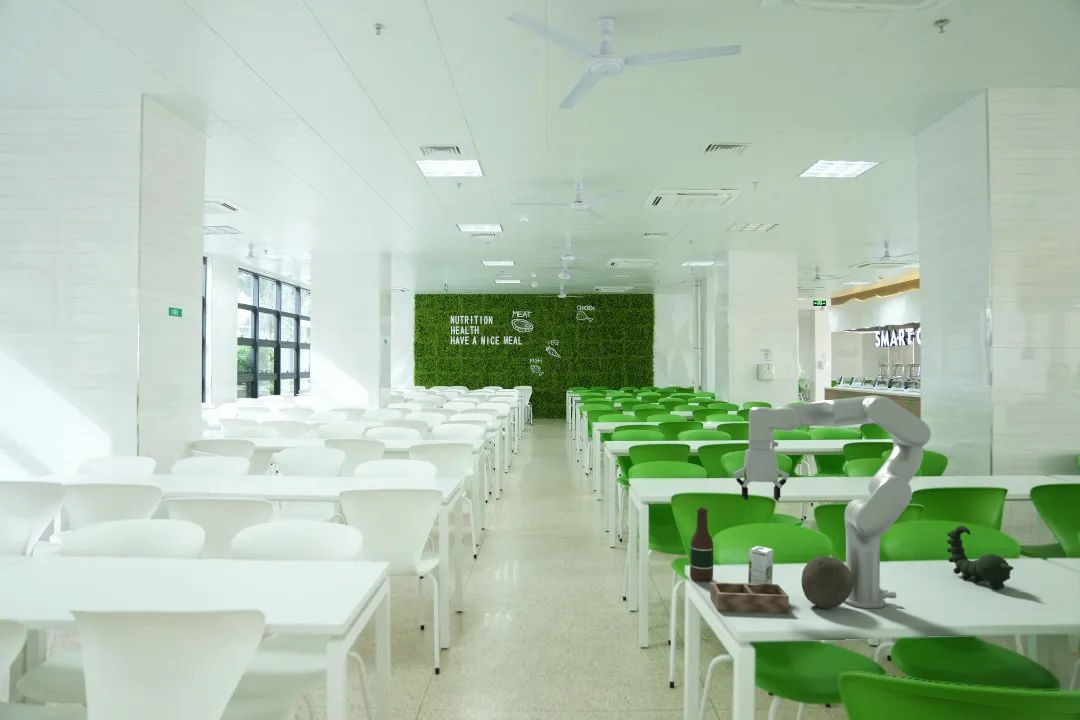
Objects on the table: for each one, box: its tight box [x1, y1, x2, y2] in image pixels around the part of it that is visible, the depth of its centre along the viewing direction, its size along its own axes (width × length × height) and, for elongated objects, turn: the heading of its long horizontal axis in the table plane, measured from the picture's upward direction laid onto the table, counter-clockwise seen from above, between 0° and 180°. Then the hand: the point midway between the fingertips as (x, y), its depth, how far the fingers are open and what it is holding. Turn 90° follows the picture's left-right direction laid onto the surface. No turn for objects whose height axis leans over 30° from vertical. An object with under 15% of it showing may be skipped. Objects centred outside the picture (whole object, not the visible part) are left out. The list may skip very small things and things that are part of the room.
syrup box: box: [747, 545, 774, 584], centre depth 215 cm, size 6×6×14 cm
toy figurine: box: [946, 525, 1014, 591], centre depth 230 cm, size 9×19×25 cm
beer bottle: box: [689, 507, 714, 583], centre depth 230 cm, size 8×8×24 cm
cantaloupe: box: [800, 555, 853, 610], centre depth 204 cm, size 14×14×15 cm
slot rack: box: [709, 581, 790, 614], centre depth 205 cm, size 21×11×5 cm, turn 87°
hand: (760, 499), depth 215 cm, fingers open, 9 cm apart
